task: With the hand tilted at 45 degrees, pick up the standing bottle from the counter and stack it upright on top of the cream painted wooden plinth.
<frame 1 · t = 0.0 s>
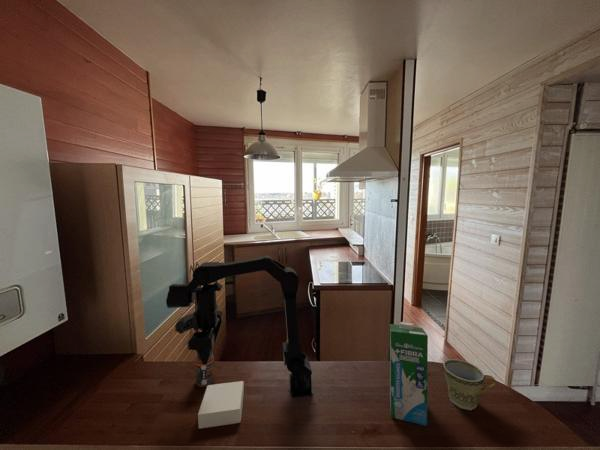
hand: (208, 354, 73), 15 cm above the counter, tool pointing down, fingers open, 9 cm apart
ceramic cup: (468, 403, 71), on the counter
supplement bottle: (205, 382, 83), on the counter
milk carton: (407, 409, 70), on the counter
plinth: (223, 409, 71), on the counter
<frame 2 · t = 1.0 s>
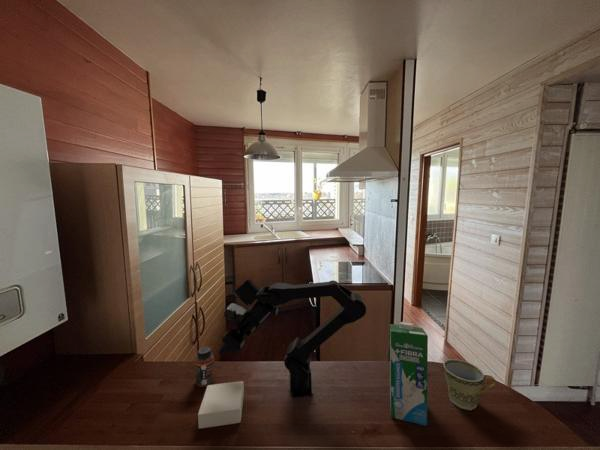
hand: (226, 345, 81), 13 cm above the counter, tool tilted 45°, fingers open, 9 cm apart
nothing on the counter moved.
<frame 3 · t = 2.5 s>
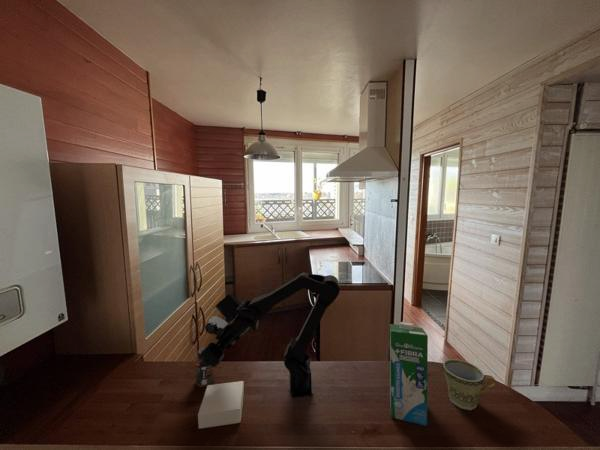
hand: (207, 357, 82), 9 cm above the counter, tool tilted 45°, fingers open, 9 cm apart
nothing on the counter moved.
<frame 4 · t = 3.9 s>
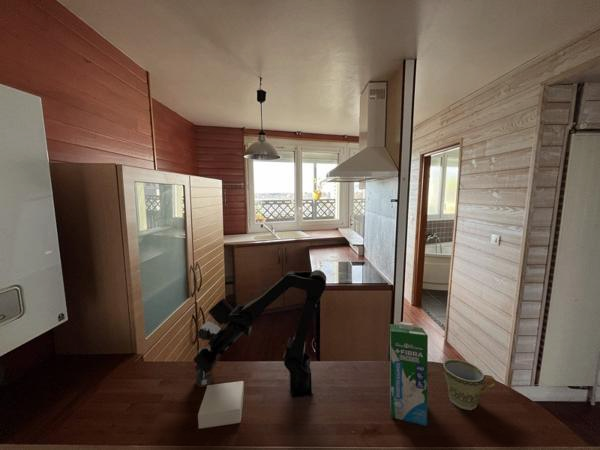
hand: (201, 363, 83), 7 cm above the counter, tool tilted 45°, fingers closed on supplement bottle, 6 cm apart
supplement bottle: (205, 382, 83), on the counter, touching gripper
everything else where it was.
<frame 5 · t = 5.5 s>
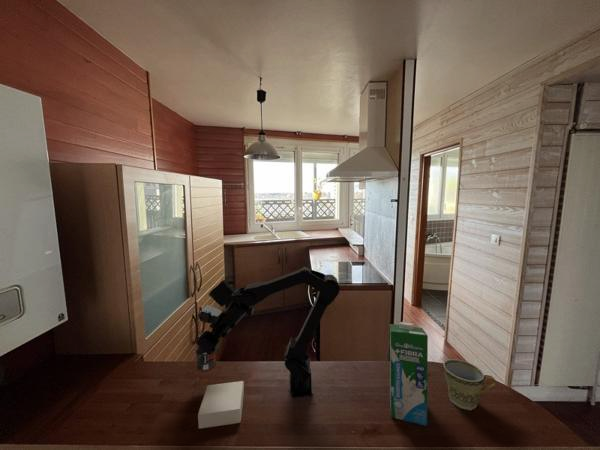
hand: (201, 348, 80), 13 cm above the counter, tool tilted 45°, fingers closed on supplement bottle, 6 cm apart
supplement bottle: (206, 368, 80), point 6 cm above the counter, touching gripper
everything else where it was.
when the fingers open (12 cm above the counter, at t = 7.2 s): supplement bottle drops 1 cm, resting on plinth.
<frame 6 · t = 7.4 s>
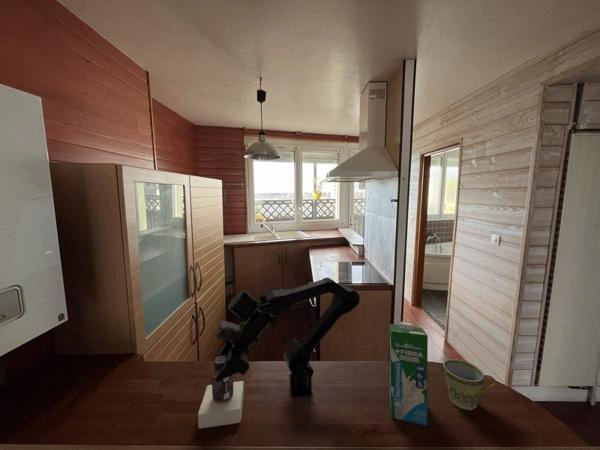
hand: (216, 371, 70), 12 cm above the counter, tool tilted 45°, fingers open, 8 cm apart
supplement bottle: (223, 396, 71), point 4 cm above the counter, touching plinth
everything else where it was.
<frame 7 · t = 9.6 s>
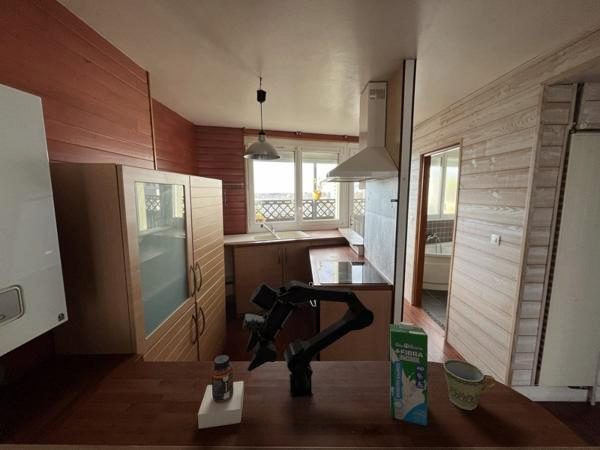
hand: (247, 360, 74), 12 cm above the counter, tool tilted 35°, fingers open, 9 cm apart
nothing on the counter moved.
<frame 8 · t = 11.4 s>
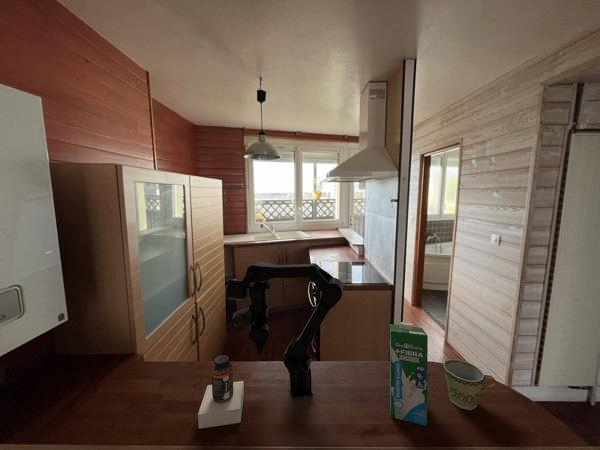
hand: (260, 346, 81), 13 cm above the counter, tool pointing down, fingers open, 9 cm apart
nothing on the counter moved.
at the end: supplement bottle inside the target area on the plinth (0.2 cm from its centre), point 3.8 cm above the plinth's base; supplement bottle tilted 0°; the gripper is holding nothing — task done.
